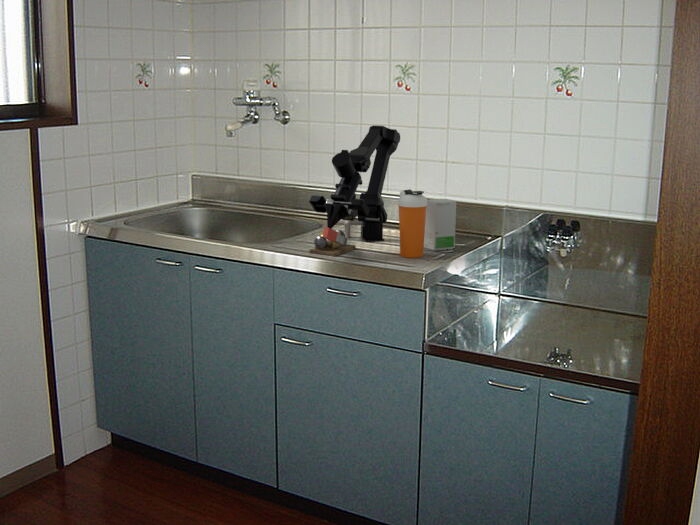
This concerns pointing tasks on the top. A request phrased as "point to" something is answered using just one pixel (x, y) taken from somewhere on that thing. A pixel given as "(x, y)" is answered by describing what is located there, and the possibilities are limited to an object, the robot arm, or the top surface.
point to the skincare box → (440, 224)
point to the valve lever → (334, 236)
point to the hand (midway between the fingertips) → (329, 228)
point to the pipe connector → (348, 225)
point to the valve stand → (330, 246)
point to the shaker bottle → (412, 223)
